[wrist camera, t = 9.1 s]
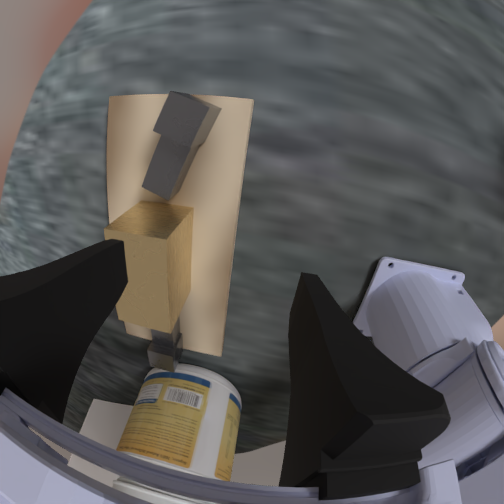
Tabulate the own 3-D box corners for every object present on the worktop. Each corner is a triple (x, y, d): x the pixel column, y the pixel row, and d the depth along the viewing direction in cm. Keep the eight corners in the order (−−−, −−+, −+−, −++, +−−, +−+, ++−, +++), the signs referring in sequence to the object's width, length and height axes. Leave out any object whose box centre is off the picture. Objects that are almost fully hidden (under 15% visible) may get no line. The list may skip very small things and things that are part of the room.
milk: (143, 407, 36) (95, 543, 13) (175, 438, 41) (143, 553, 18) (93, 398, 38) (44, 509, 15) (126, 429, 43) (91, 528, 20)
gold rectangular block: (193, 207, 18) (166, 239, 14) (190, 290, 22) (170, 333, 17) (141, 200, 18) (104, 228, 14) (145, 280, 22) (118, 319, 17)
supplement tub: (135, 381, 32) (92, 485, 17) (173, 342, 27) (115, 491, 12) (210, 419, 34) (187, 520, 20) (264, 392, 29) (249, 527, 14)
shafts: (223, 95, 15) (211, 92, 12) (203, 354, 25) (195, 378, 23) (156, 93, 15) (134, 91, 12) (160, 344, 25) (150, 366, 23)
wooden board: (254, 100, 15) (252, 99, 15) (222, 349, 26) (221, 356, 25) (116, 96, 16) (109, 96, 15) (130, 327, 26) (126, 333, 25)
